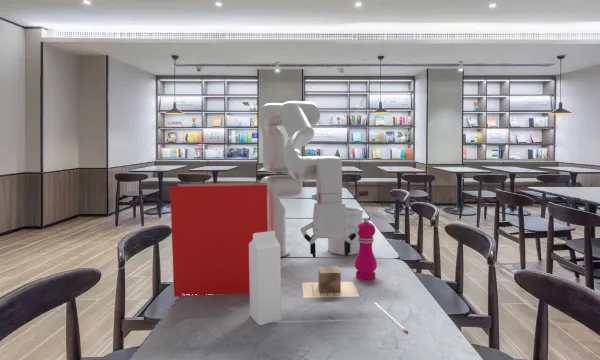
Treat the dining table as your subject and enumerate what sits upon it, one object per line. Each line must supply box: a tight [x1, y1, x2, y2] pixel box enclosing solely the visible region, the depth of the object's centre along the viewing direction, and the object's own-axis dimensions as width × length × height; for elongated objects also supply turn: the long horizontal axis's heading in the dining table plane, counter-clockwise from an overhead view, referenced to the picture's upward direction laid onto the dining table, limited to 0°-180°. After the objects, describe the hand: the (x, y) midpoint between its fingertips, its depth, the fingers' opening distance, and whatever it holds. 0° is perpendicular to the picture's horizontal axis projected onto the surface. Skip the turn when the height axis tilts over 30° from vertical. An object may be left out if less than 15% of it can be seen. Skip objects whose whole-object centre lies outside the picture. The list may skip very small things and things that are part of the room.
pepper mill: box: [354, 217, 378, 282], centre depth 122 cm, size 7×7×20 cm
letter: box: [301, 281, 360, 299], centre depth 113 cm, size 16×12×1 cm
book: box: [169, 182, 268, 297], centre depth 113 cm, size 27×8×32 cm, turn 95°
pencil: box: [373, 301, 409, 334], centre depth 95 cm, size 1×19×1 cm, turn 14°
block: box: [317, 265, 342, 293], centre depth 113 cm, size 6×6×6 cm
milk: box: [249, 231, 282, 326], centre depth 94 cm, size 6×6×22 cm
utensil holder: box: [327, 206, 364, 256], centre depth 155 cm, size 15×15×18 cm
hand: (330, 255), depth 112 cm, fingers open, 9 cm apart
